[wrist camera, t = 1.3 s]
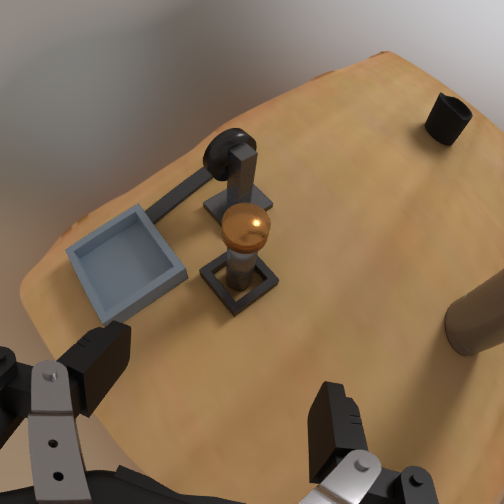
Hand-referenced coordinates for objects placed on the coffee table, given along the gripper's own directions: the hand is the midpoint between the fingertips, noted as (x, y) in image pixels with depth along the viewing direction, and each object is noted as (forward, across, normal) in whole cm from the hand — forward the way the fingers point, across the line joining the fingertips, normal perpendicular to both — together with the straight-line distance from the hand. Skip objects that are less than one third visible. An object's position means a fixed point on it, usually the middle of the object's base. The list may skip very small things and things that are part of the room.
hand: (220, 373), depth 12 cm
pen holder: (+62, -35, -29) cm, 77 cm away
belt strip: (+35, +14, -1) cm, 38 cm away
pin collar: (+27, +2, +7) cm, 28 cm away
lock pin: (+27, +2, +7) cm, 28 cm away
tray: (+25, +16, +9) cm, 31 cm away
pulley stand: (+35, +5, -1) cm, 35 cm away
